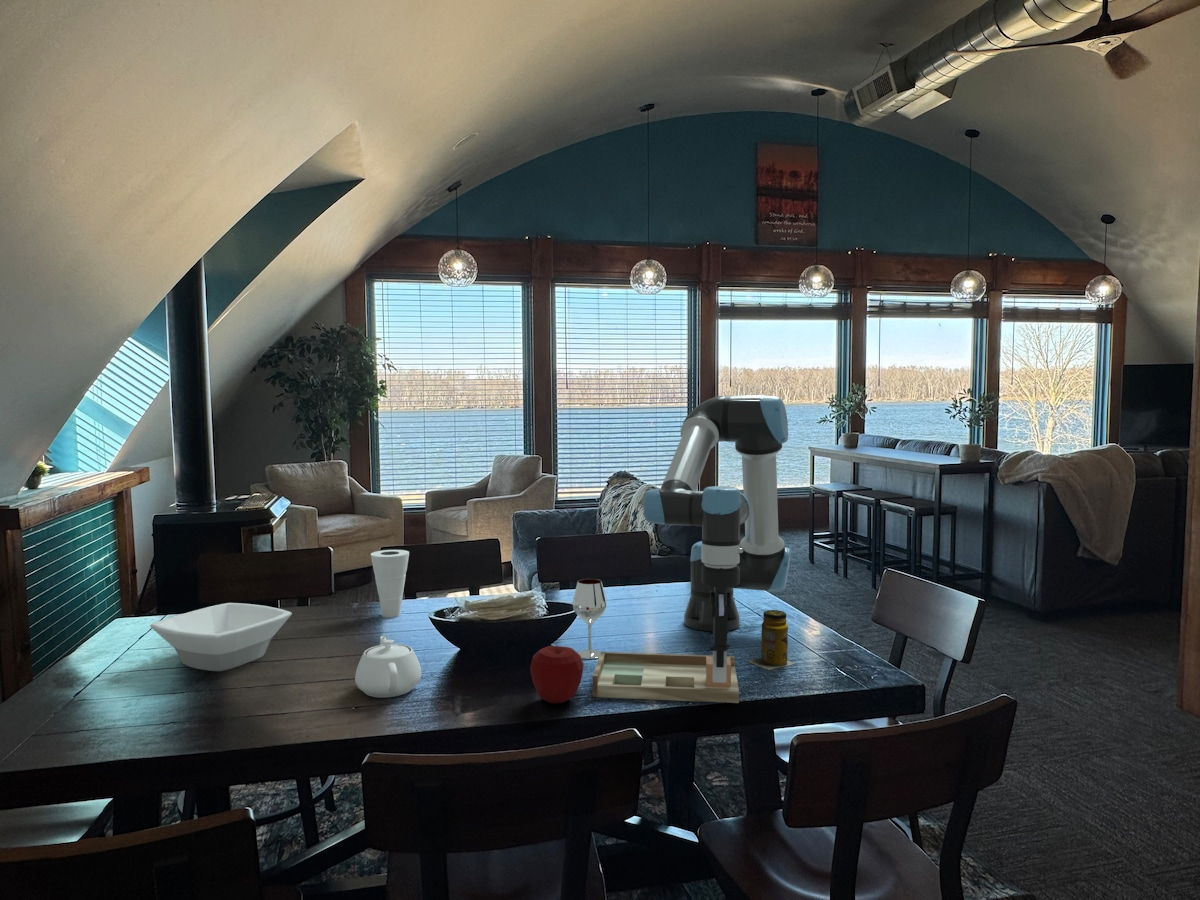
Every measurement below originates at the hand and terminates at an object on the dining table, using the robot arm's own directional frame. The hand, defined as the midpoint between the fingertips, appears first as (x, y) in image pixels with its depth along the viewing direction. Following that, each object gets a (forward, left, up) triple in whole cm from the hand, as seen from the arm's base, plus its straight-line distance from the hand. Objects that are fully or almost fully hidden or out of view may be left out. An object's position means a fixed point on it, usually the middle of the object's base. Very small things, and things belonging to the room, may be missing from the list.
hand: (719, 681), depth 160 cm
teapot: (-3, -70, -6) cm, 70 cm away
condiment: (-29, +13, -6) cm, 32 cm away
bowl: (-17, -116, -6) cm, 117 cm away
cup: (-59, -91, -6) cm, 108 cm away
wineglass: (-30, -30, -6) cm, 42 cm away
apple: (0, -33, -6) cm, 33 cm away
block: (-8, 0, -3) cm, 8 cm away
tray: (-11, -11, -5) cm, 16 cm away
